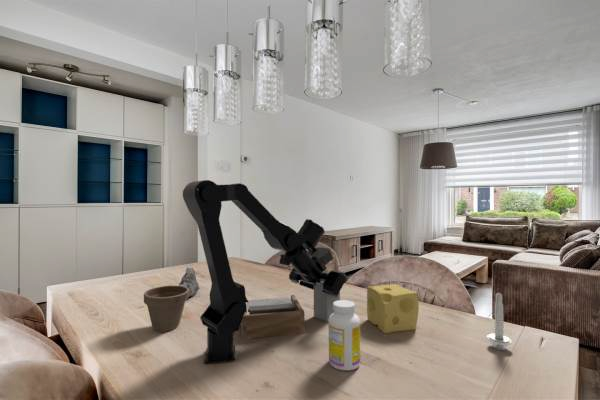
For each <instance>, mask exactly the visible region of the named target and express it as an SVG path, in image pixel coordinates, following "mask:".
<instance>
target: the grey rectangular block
mask: <svg viewBox="0 0 600 400" xmlns="http://www.w3.org/2000/svg"><path fill="white" fill-rule="evenodd" d="M323 283H324V282H323V281H321V282H320V284H318V283H316V284H315V285H314V290H313V317H314V318H316V319H319V320H321V321H324V322H327V323H329V317H330V315H331V314H332V313H334V310H333V302H335V301H338V300H341V291H340V292H339V294H338V297H334V296H332V295H329V294H326V293H324V292H322V291H323Z"/></svg>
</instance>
